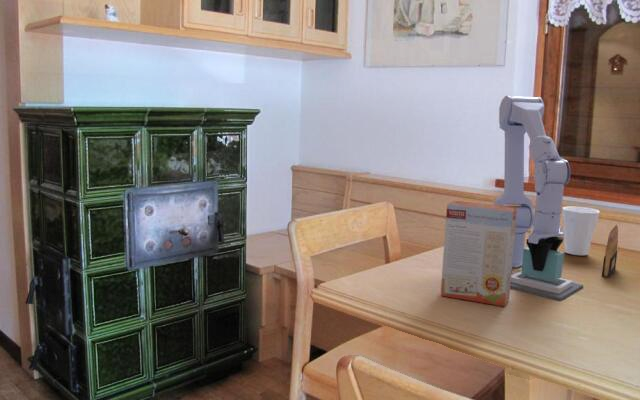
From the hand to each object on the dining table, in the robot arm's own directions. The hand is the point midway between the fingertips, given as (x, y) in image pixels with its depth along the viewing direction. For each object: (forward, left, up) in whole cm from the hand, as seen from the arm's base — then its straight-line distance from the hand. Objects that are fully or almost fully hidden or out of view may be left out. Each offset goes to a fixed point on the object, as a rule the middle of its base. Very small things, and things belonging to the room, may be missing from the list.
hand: (541, 268), depth 146 cm
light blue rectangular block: (0, 0, -2) cm, 2 cm away
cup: (-6, +39, -5) cm, 40 cm away
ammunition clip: (+7, +26, -5) cm, 27 cm away
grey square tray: (0, 0, -4) cm, 4 cm away
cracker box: (-7, -20, -5) cm, 22 cm away
